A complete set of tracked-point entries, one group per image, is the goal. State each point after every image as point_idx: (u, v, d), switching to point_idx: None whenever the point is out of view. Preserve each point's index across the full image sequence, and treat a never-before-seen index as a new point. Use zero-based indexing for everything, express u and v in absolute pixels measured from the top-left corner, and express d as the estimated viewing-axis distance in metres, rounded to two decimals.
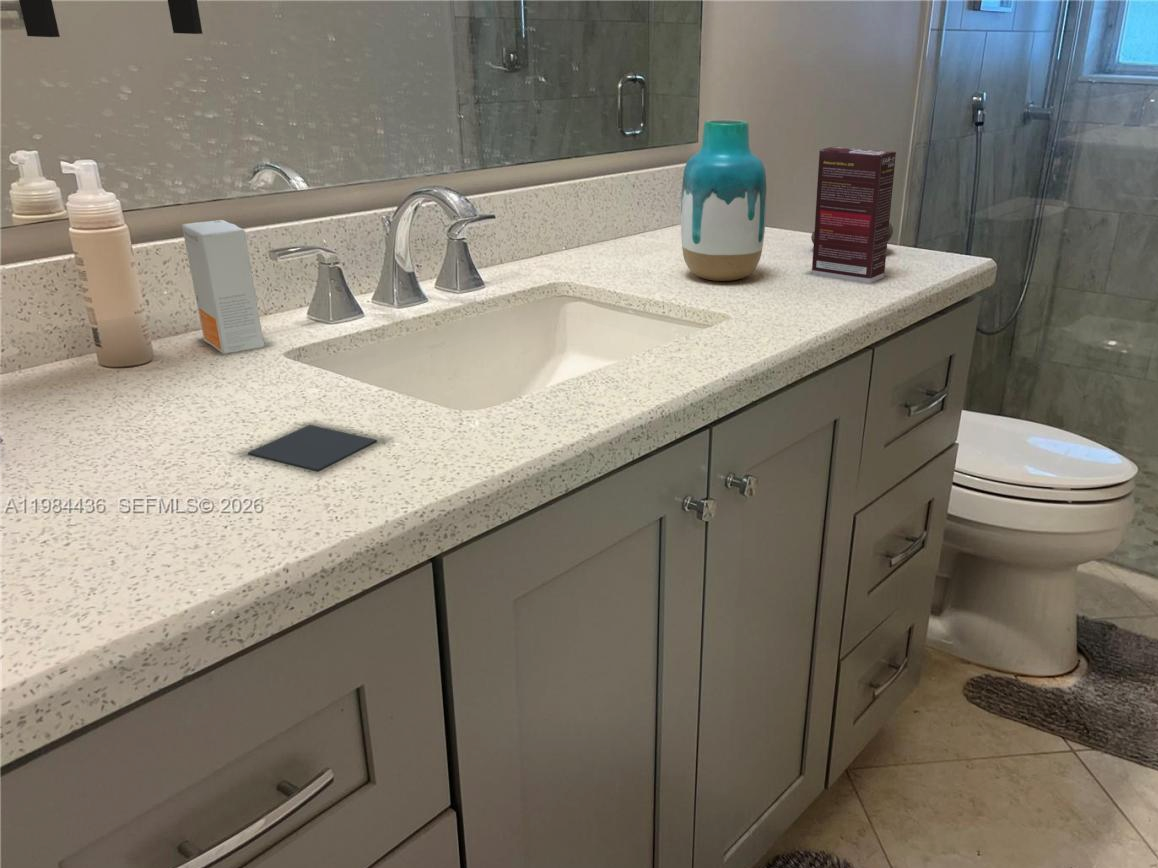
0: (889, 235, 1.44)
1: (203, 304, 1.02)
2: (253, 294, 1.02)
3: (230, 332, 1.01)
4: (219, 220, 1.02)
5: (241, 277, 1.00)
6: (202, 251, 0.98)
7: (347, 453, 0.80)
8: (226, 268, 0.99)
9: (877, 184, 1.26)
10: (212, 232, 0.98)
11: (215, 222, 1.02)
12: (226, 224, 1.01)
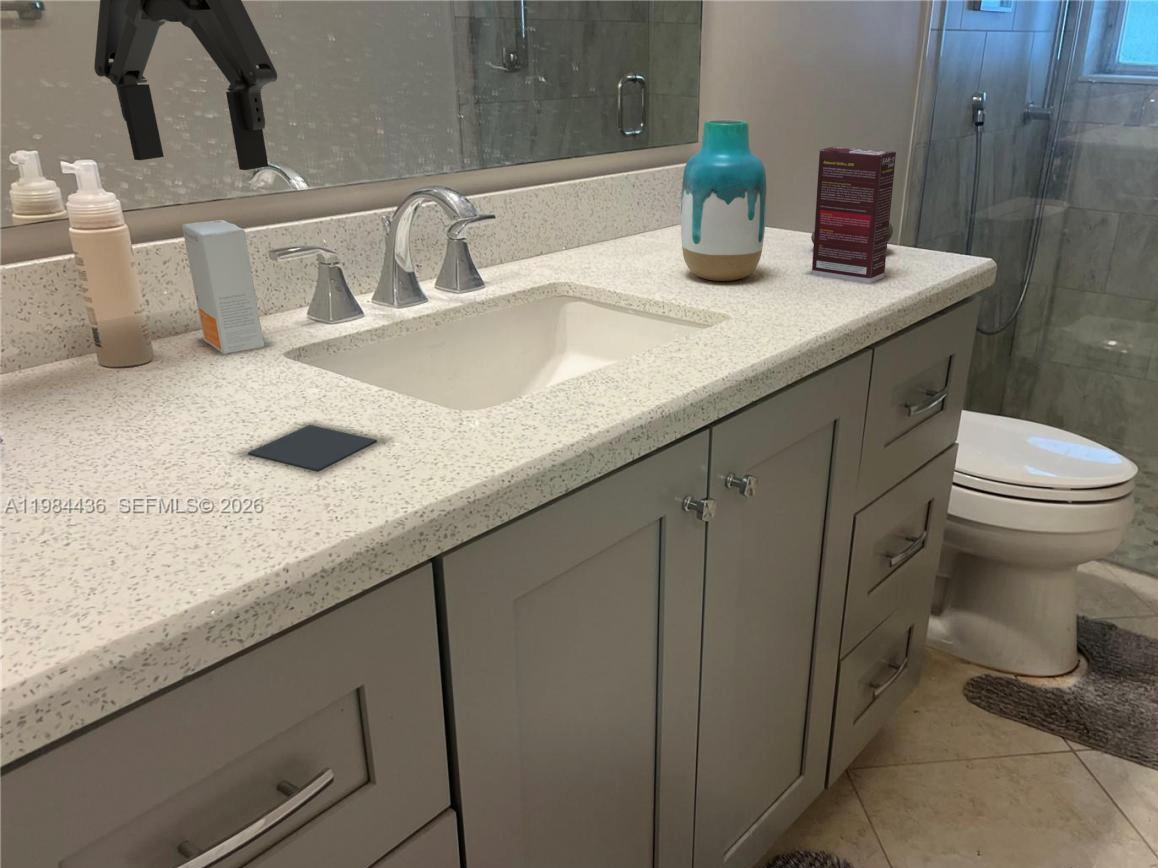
0: (889, 235, 1.44)
1: (203, 304, 1.02)
2: (253, 294, 1.02)
3: (230, 332, 1.01)
4: (219, 220, 1.02)
5: (241, 277, 1.00)
6: (202, 251, 0.98)
7: (347, 453, 0.80)
8: (226, 268, 0.99)
9: (877, 184, 1.26)
10: (212, 232, 0.98)
11: (215, 222, 1.02)
12: (226, 224, 1.01)
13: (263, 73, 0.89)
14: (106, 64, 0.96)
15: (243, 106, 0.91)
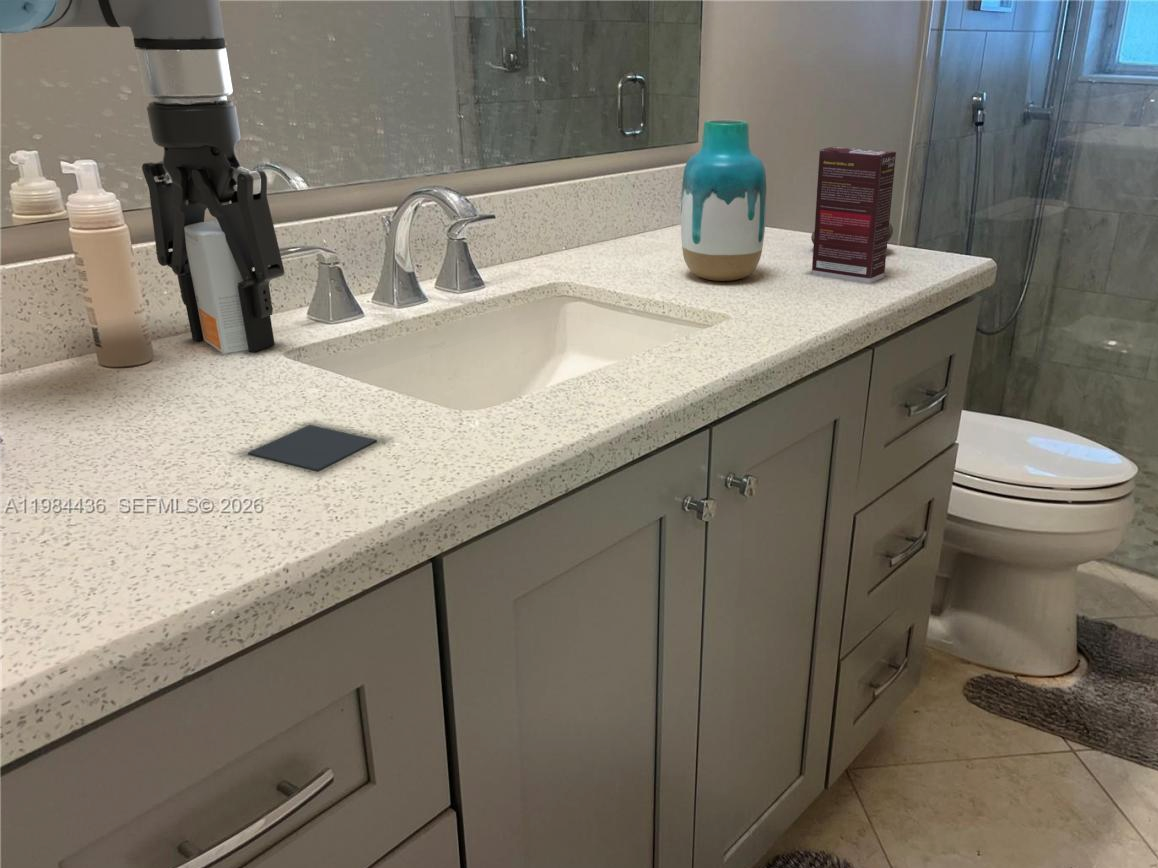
0: (889, 235, 1.44)
1: (203, 304, 1.02)
2: None
3: (230, 332, 1.01)
4: None
5: (241, 277, 1.00)
6: (202, 251, 0.98)
7: (347, 453, 0.80)
8: (225, 268, 0.99)
9: (877, 184, 1.26)
10: (212, 232, 0.98)
11: (215, 222, 1.02)
12: None
13: (272, 273, 0.99)
14: (167, 252, 1.03)
15: (252, 297, 1.00)
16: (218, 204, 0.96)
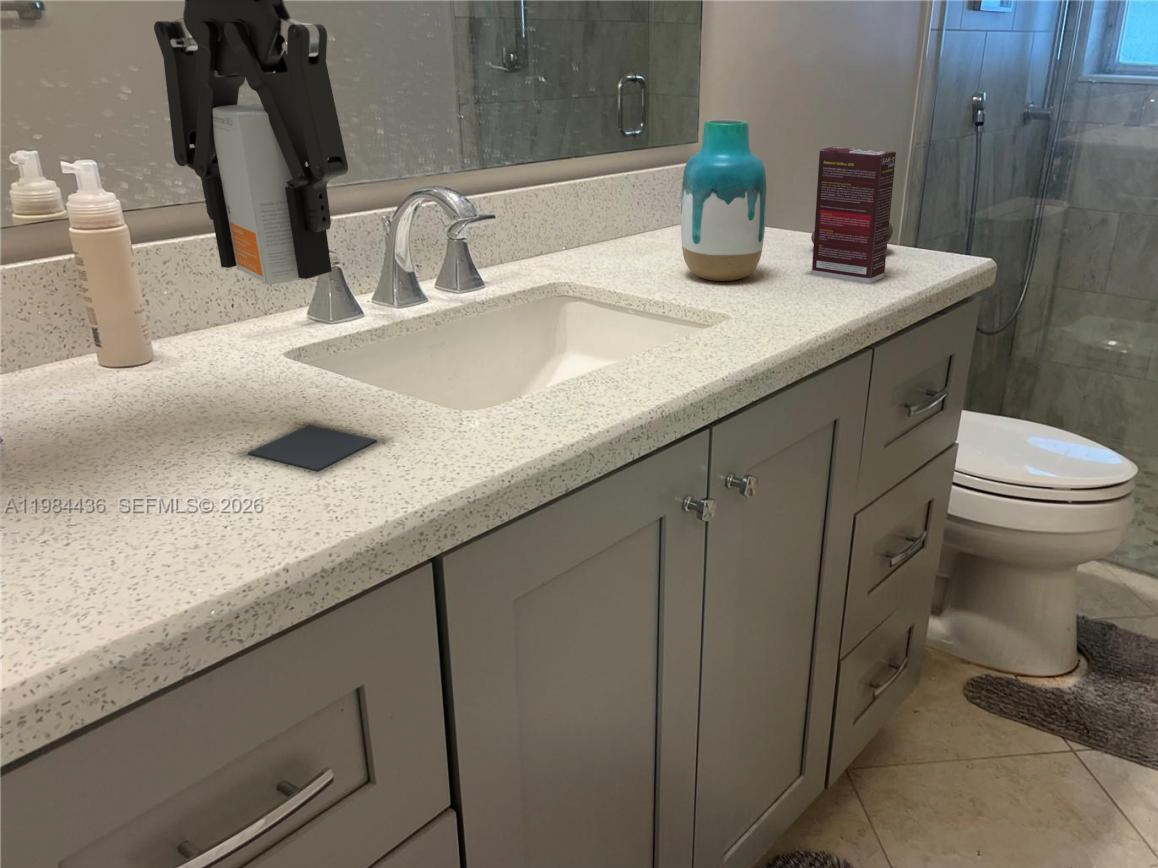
0: (889, 235, 1.44)
1: (237, 215, 0.76)
2: None
3: (275, 251, 0.76)
4: (257, 104, 0.77)
5: (289, 176, 0.75)
6: (239, 138, 0.72)
7: (347, 453, 0.80)
8: (269, 162, 0.73)
9: (877, 184, 1.26)
10: (252, 111, 0.72)
11: (252, 105, 0.76)
12: None
13: (333, 169, 0.73)
14: (187, 148, 0.77)
15: (305, 203, 0.75)
16: (260, 72, 0.71)
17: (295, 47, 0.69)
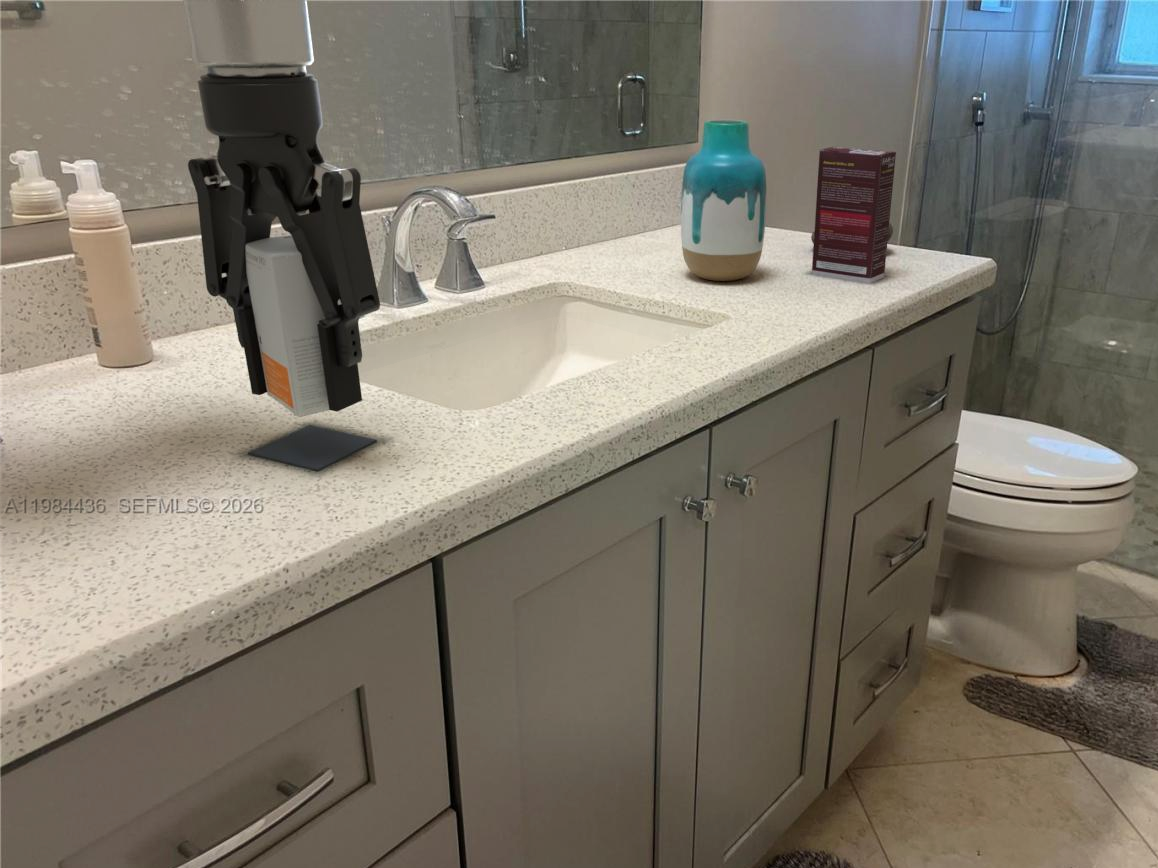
0: (889, 235, 1.44)
1: (269, 348, 0.76)
2: None
3: (306, 385, 0.76)
4: (289, 235, 0.77)
5: (321, 312, 0.74)
6: (272, 279, 0.72)
7: (347, 453, 0.80)
8: (302, 300, 0.73)
9: (877, 184, 1.26)
10: (285, 252, 0.72)
11: (285, 238, 0.76)
12: None
13: (365, 308, 0.73)
14: (219, 279, 0.77)
15: (337, 339, 0.74)
16: (294, 214, 0.71)
17: (329, 194, 0.69)
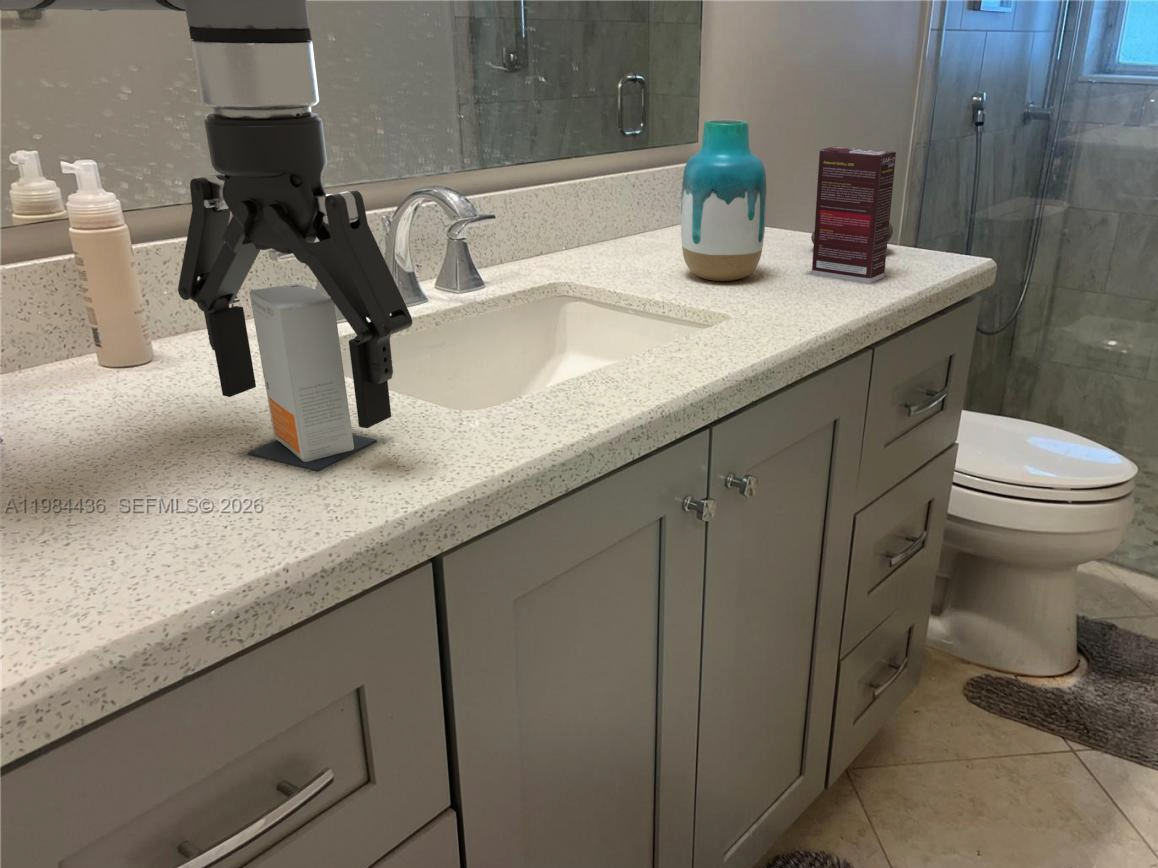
0: (889, 235, 1.44)
1: (276, 394, 0.78)
2: (342, 381, 0.77)
3: (312, 431, 0.77)
4: None
5: (328, 360, 0.76)
6: (279, 329, 0.73)
7: (347, 453, 0.80)
8: (309, 350, 0.75)
9: (877, 184, 1.26)
10: (292, 304, 0.73)
11: (292, 287, 0.77)
12: (307, 290, 0.77)
13: (397, 322, 0.72)
14: (193, 287, 0.78)
15: (368, 356, 0.74)
16: None
17: (335, 216, 0.69)
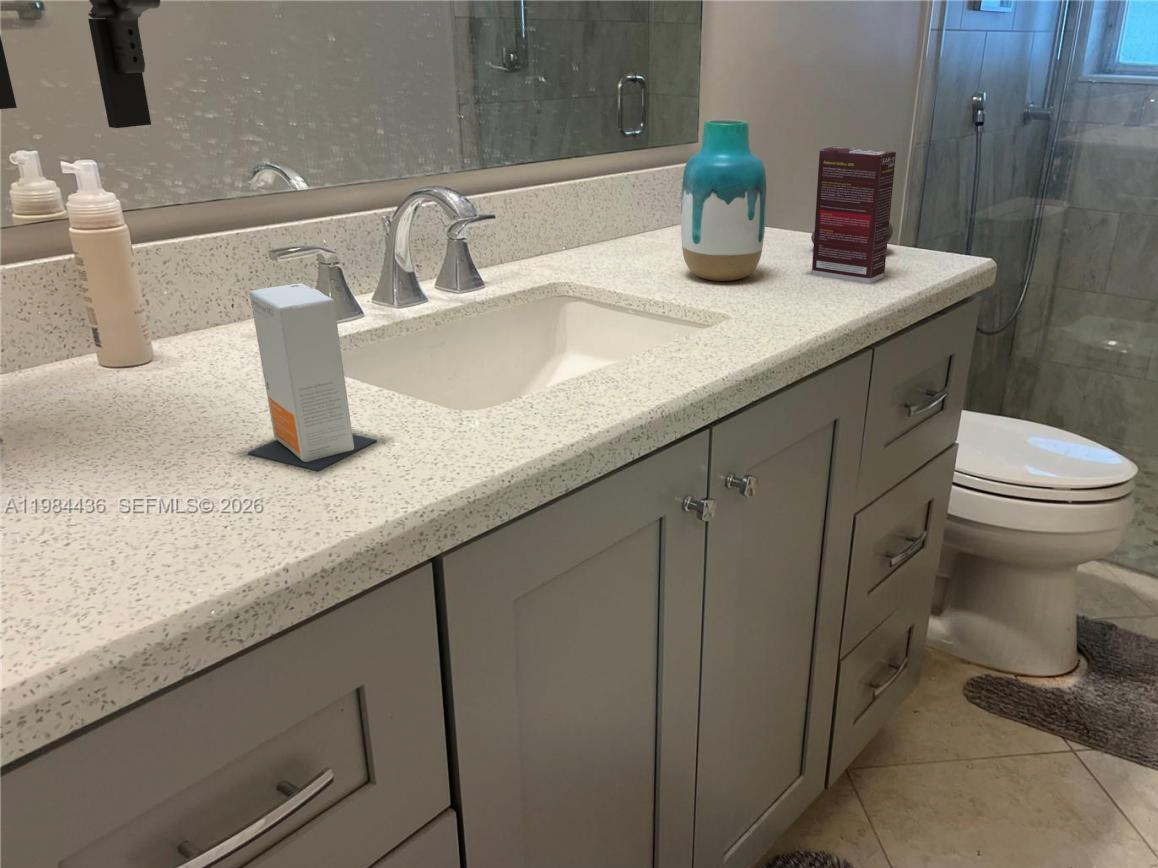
0: (889, 235, 1.44)
1: (276, 394, 0.78)
2: (342, 381, 0.77)
3: (312, 431, 0.77)
4: None
5: (328, 361, 0.76)
6: (279, 329, 0.73)
7: (347, 453, 0.80)
8: (309, 350, 0.75)
9: (877, 184, 1.26)
10: (292, 304, 0.73)
11: (292, 287, 0.77)
12: (307, 290, 0.77)
13: None
14: None
15: (112, 39, 0.66)
16: None
17: None
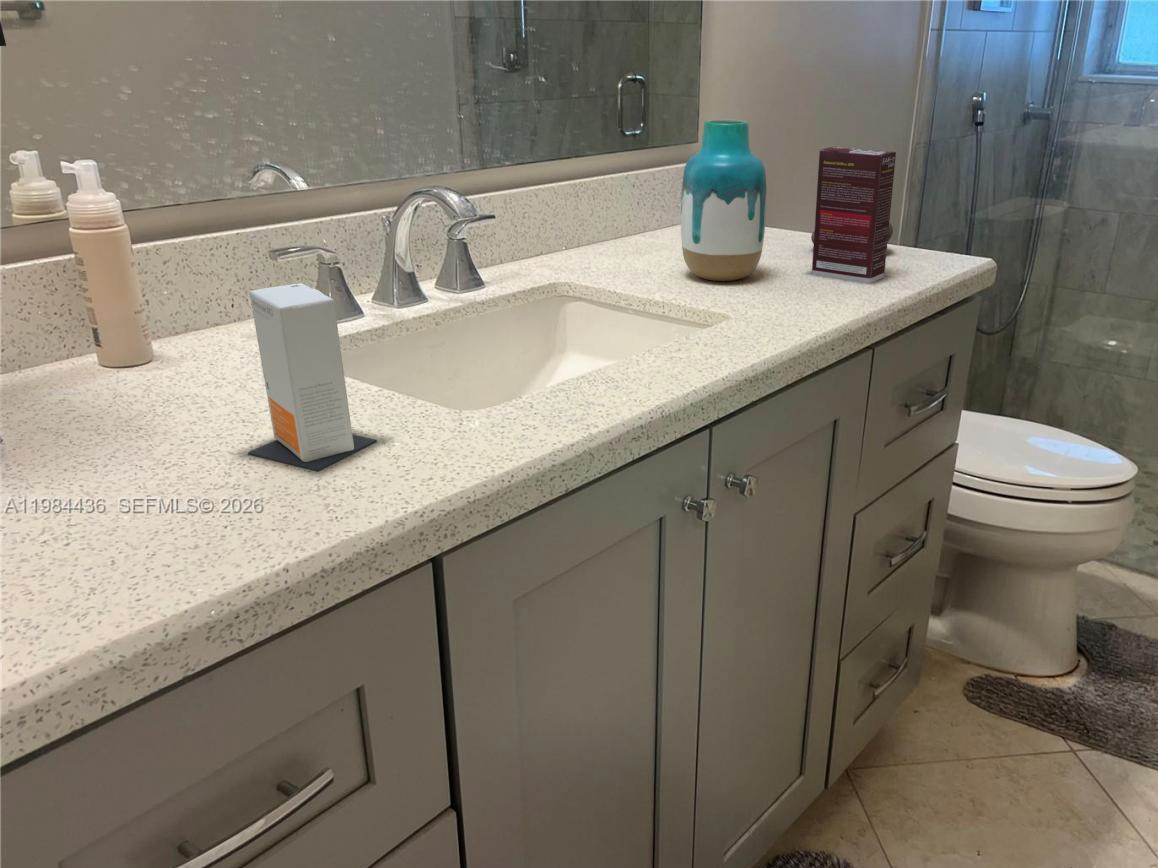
0: (889, 235, 1.44)
1: (276, 394, 0.78)
2: (342, 381, 0.77)
3: (312, 431, 0.77)
4: None
5: (328, 361, 0.76)
6: (279, 329, 0.73)
7: (347, 453, 0.80)
8: (309, 350, 0.75)
9: (877, 184, 1.26)
10: (292, 304, 0.73)
11: (292, 287, 0.77)
12: (307, 290, 0.77)
13: None
14: None
15: None
16: None
17: None
